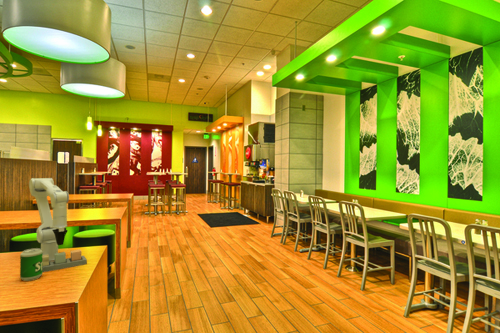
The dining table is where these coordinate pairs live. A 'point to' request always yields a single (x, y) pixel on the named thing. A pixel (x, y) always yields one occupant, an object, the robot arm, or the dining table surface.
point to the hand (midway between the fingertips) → (59, 244)
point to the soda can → (31, 264)
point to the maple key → (45, 260)
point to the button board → (64, 264)
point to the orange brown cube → (75, 255)
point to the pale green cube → (60, 257)
